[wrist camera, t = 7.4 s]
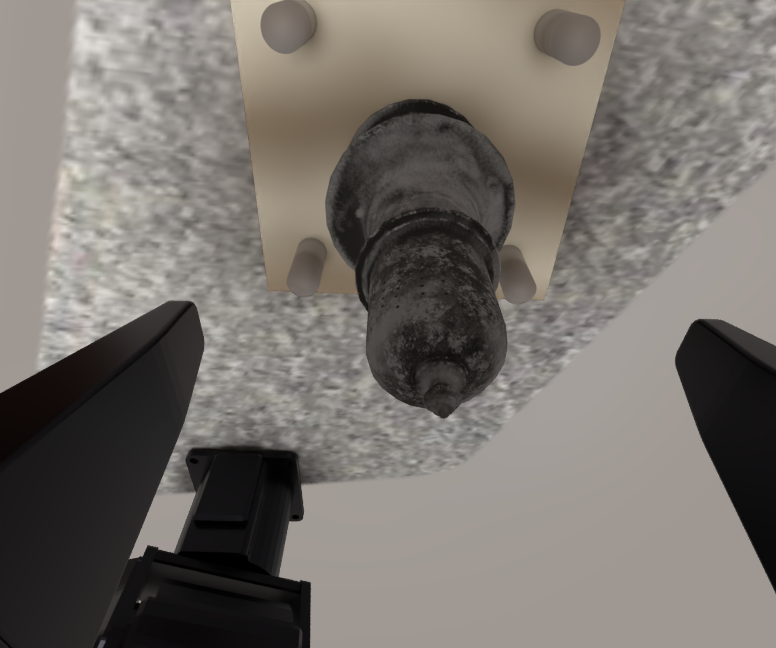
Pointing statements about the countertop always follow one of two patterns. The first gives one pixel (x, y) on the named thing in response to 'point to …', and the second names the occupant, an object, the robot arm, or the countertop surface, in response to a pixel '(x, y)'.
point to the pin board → (417, 81)
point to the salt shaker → (425, 249)
